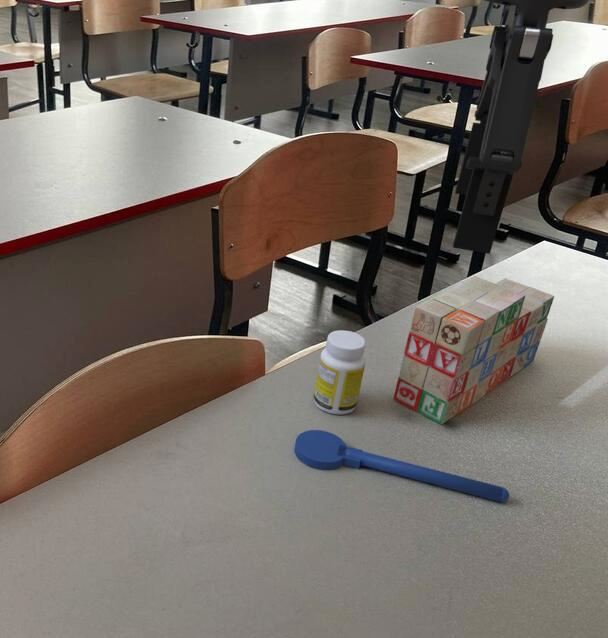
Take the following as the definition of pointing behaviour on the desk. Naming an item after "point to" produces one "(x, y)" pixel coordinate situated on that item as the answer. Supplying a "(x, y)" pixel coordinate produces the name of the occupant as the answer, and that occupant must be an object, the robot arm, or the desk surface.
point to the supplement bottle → (340, 372)
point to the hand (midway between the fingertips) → (470, 220)
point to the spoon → (383, 464)
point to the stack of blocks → (469, 344)
